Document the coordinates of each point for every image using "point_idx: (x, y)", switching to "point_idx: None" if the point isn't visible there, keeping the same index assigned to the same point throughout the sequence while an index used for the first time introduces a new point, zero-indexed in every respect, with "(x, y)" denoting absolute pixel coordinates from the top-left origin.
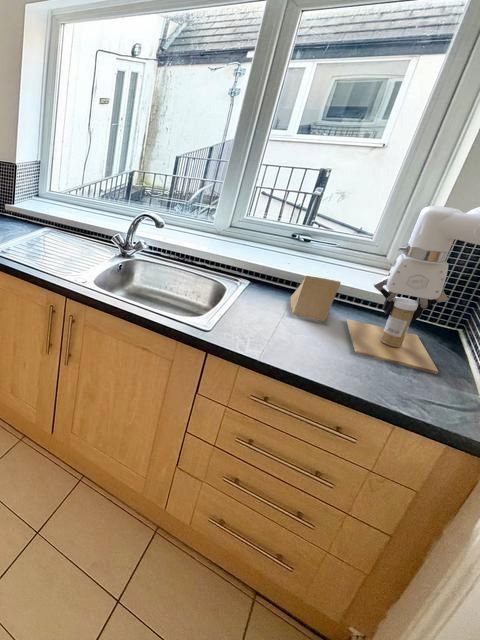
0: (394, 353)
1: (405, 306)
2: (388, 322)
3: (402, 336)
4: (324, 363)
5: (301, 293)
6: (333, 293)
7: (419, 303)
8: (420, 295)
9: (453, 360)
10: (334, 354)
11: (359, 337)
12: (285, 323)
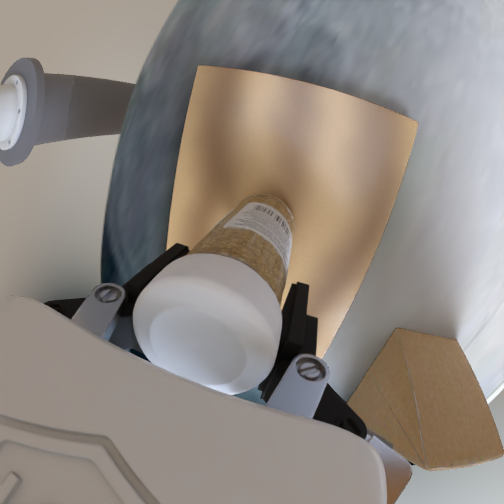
0: (286, 141)
1: (230, 275)
2: (288, 257)
3: (239, 207)
4: (498, 58)
5: (483, 399)
6: (425, 419)
7: (124, 327)
8: (81, 345)
9: (124, 199)
10: (468, 110)
11: (355, 241)
12: (498, 291)
